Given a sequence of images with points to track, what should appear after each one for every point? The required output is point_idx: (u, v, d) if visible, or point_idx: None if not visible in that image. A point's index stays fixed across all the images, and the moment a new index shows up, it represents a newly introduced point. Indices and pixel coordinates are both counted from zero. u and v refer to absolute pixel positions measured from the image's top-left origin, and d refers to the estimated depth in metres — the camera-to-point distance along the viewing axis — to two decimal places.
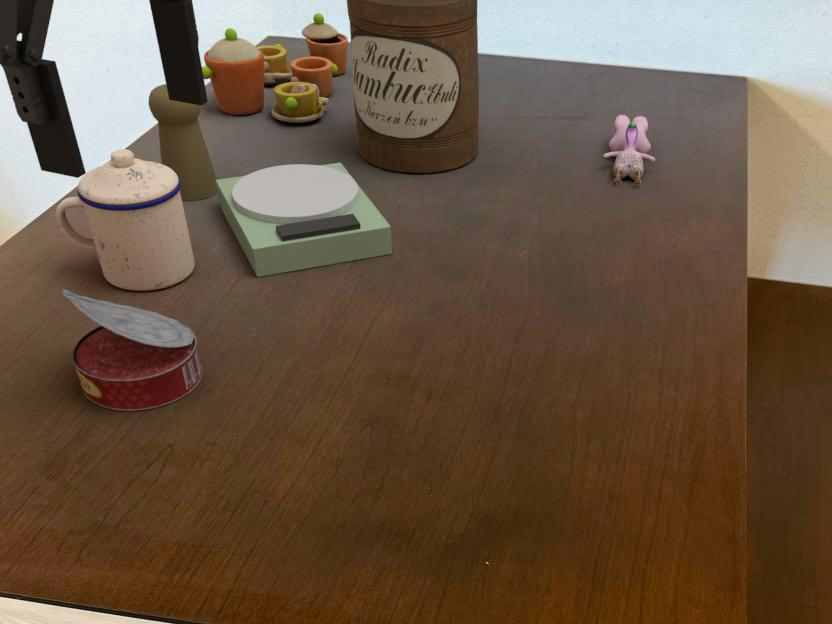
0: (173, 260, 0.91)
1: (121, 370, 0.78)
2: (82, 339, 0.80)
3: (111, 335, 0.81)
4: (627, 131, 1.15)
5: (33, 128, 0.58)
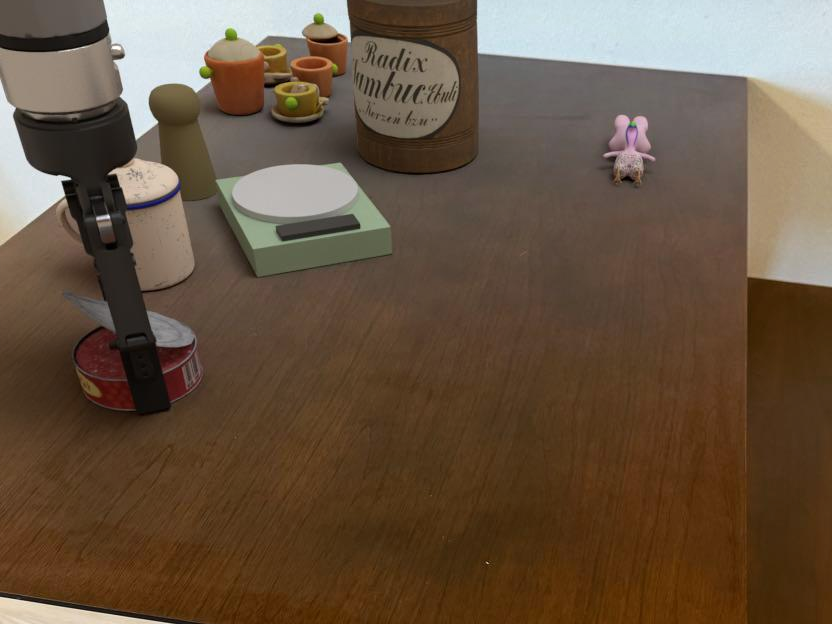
0: (173, 260, 0.91)
1: (121, 369, 0.78)
2: (82, 339, 0.80)
3: (111, 335, 0.81)
4: (627, 131, 1.15)
5: (134, 386, 0.76)
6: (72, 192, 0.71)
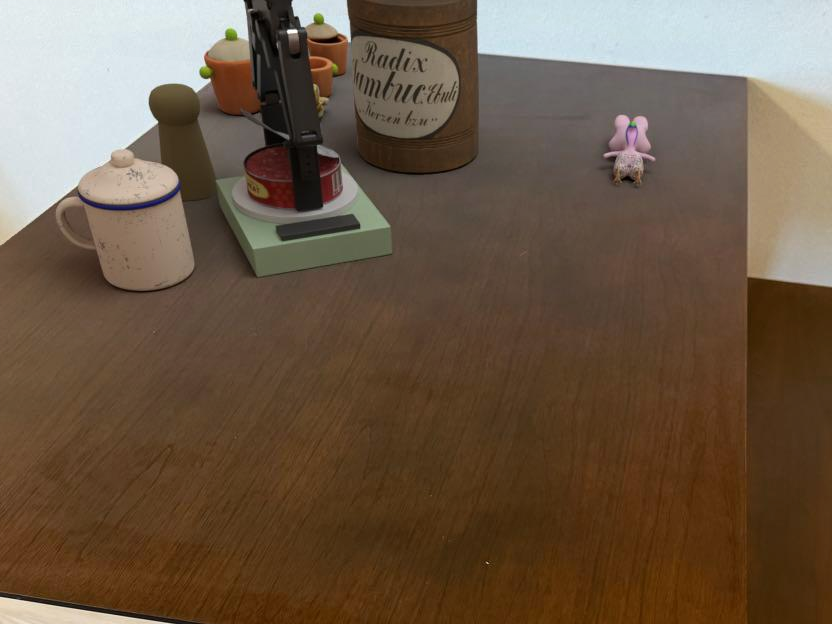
0: (173, 260, 0.91)
1: (284, 175, 0.97)
2: (248, 156, 1.00)
3: (271, 154, 1.00)
4: (627, 131, 1.15)
5: (298, 185, 0.95)
6: None
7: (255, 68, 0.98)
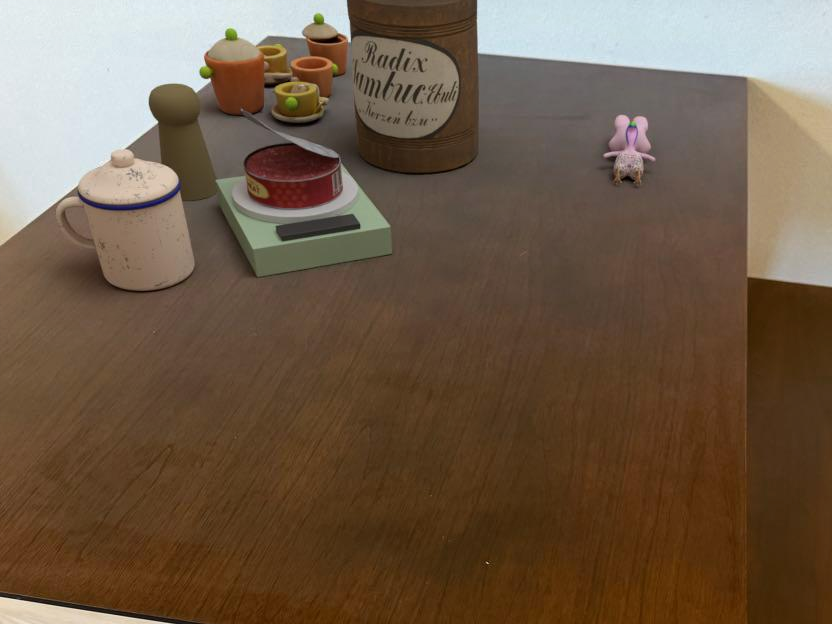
0: (173, 260, 0.91)
1: (284, 175, 0.97)
2: (248, 156, 1.00)
3: (271, 154, 1.00)
4: (627, 131, 1.15)
5: None
6: None
7: None
